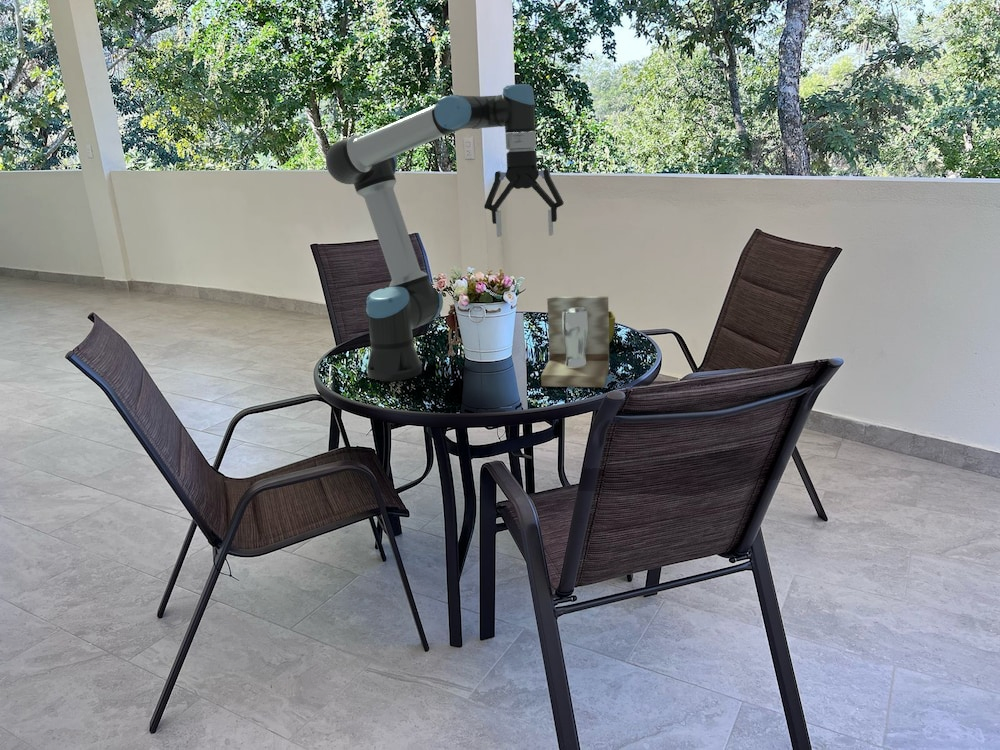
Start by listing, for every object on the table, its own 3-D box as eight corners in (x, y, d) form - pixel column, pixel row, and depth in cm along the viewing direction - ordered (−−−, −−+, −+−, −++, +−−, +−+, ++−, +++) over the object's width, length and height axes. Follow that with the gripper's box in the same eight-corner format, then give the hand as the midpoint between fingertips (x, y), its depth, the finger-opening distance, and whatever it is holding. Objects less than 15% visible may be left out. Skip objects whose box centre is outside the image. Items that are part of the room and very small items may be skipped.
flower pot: (615, 347, 227) (615, 317, 224) (586, 348, 227) (585, 319, 224) (612, 339, 235) (611, 310, 232) (583, 340, 235) (583, 312, 233)
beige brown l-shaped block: (541, 386, 195) (538, 310, 189) (550, 368, 210) (548, 296, 204) (604, 387, 192) (603, 309, 186) (609, 368, 206) (608, 296, 200)
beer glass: (570, 360, 205) (568, 306, 201) (593, 363, 202) (592, 307, 197) (558, 367, 200) (556, 312, 195) (582, 370, 196) (581, 313, 192)
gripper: (469, 153, 191) (475, 238, 197) (568, 148, 185) (571, 236, 191) (476, 152, 198) (481, 235, 204) (572, 147, 192) (574, 232, 198)
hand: (525, 235), depth 198 cm, fingers open, 13 cm apart
